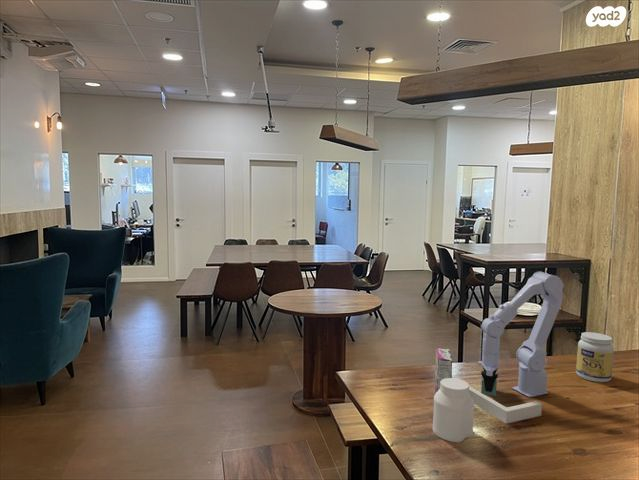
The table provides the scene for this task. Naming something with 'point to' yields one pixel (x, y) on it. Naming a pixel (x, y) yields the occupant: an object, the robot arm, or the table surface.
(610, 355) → the supplement tub
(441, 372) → the candy bar box
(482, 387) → the cube
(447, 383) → the jar
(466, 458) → the table surface
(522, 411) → the white l-shaped block
